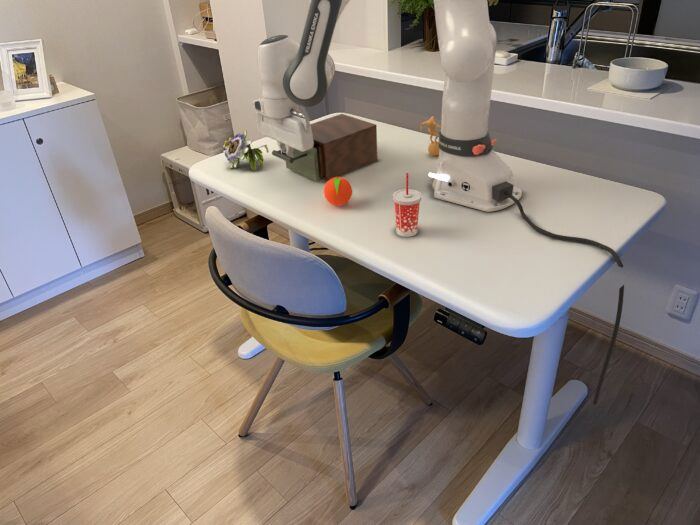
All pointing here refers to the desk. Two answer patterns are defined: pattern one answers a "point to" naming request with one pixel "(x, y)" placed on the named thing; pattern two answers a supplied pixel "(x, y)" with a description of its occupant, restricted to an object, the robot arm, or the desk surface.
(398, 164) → the desk surface
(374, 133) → the cabinet
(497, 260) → the desk surface
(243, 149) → the passion flower
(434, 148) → the figurine
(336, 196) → the clementine
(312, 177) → the drawer
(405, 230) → the beverage cup
